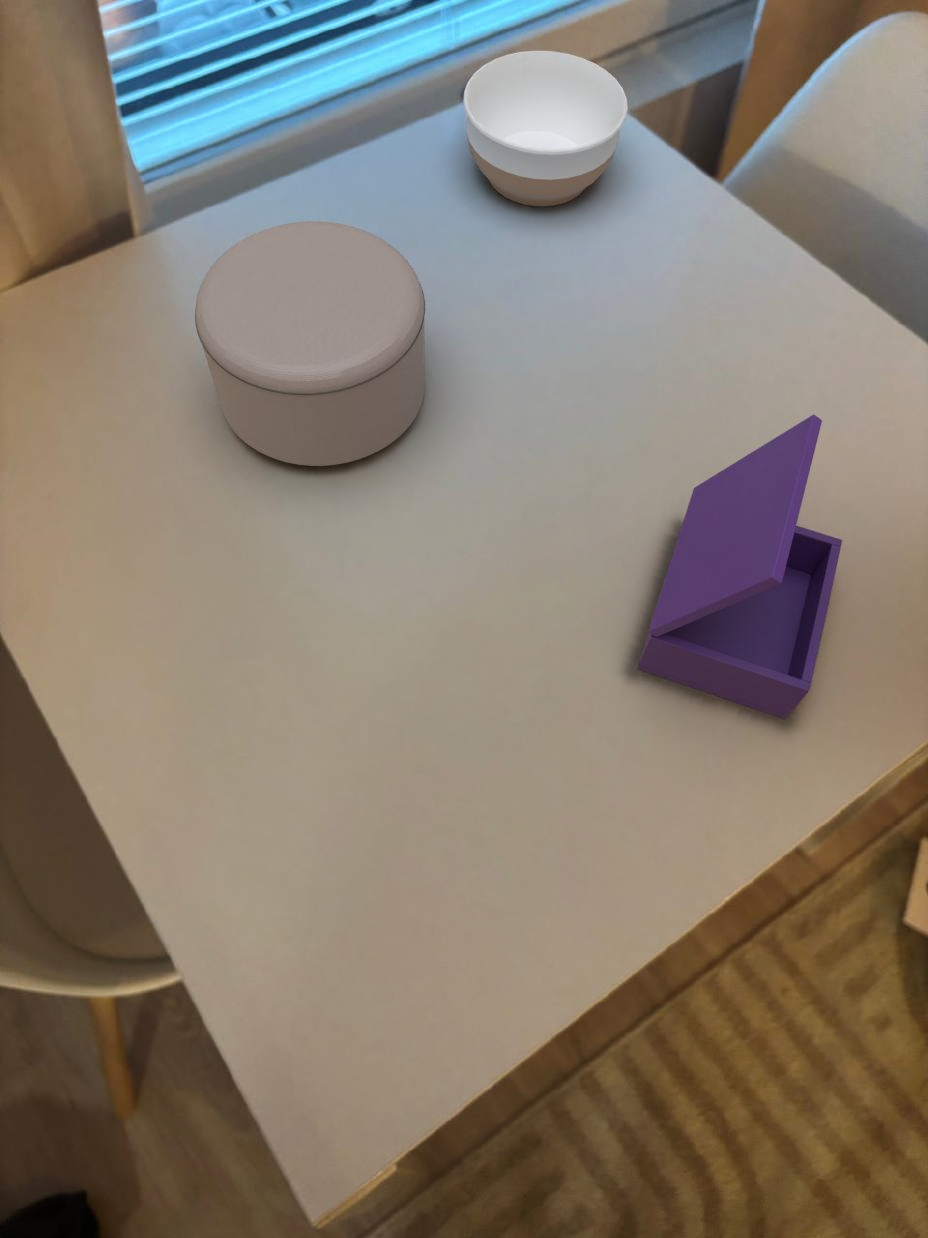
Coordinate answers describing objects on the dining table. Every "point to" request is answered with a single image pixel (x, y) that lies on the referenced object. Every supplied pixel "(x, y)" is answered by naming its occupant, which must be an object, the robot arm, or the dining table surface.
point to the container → (314, 341)
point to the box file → (757, 636)
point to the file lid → (738, 530)
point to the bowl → (543, 124)
